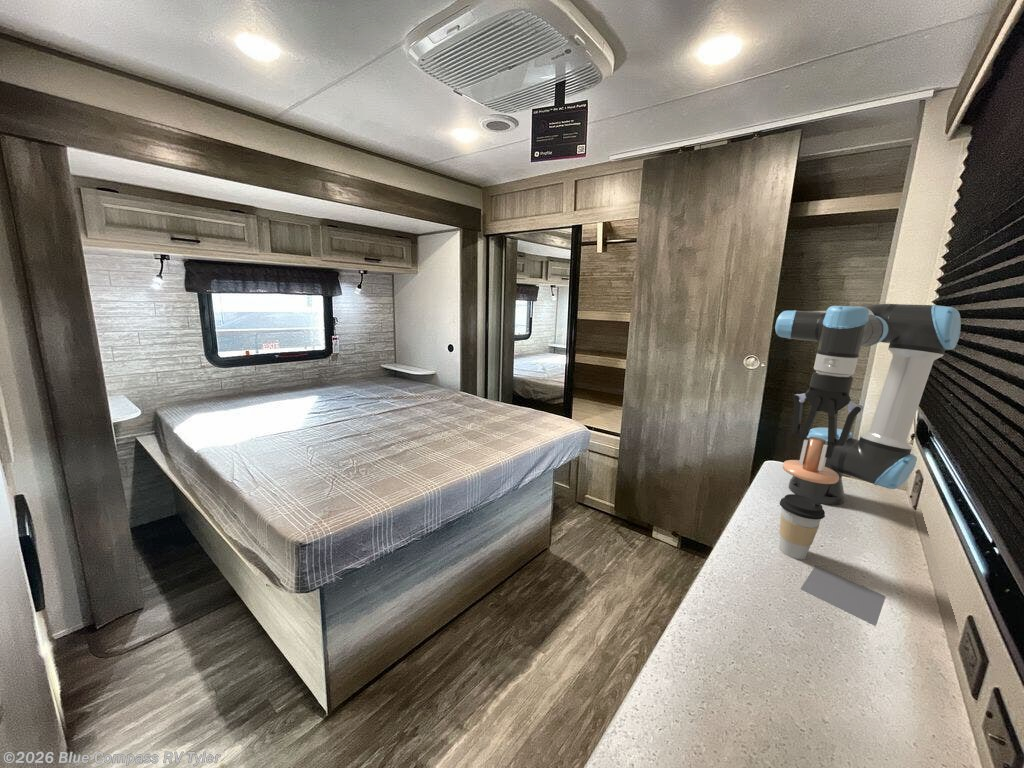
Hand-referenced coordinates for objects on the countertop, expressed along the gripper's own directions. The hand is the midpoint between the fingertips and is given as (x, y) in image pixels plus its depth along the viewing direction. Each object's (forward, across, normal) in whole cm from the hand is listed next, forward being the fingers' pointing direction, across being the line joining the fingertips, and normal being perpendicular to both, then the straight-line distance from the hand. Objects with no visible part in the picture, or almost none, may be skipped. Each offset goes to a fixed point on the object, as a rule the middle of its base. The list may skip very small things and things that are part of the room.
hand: (811, 466), depth 98 cm
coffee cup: (+25, 0, 0) cm, 25 cm away
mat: (+25, +12, -8) cm, 29 cm away
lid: (+2, 0, 0) cm, 2 cm away
